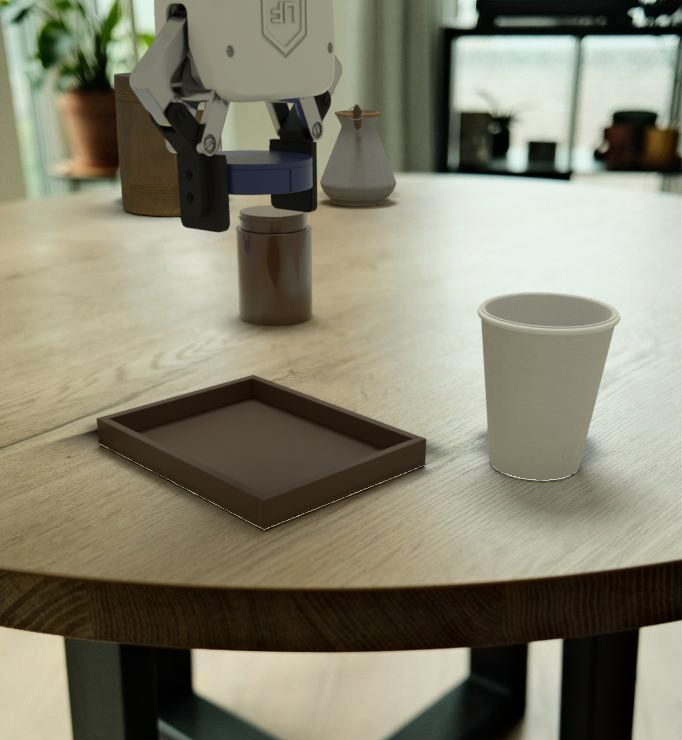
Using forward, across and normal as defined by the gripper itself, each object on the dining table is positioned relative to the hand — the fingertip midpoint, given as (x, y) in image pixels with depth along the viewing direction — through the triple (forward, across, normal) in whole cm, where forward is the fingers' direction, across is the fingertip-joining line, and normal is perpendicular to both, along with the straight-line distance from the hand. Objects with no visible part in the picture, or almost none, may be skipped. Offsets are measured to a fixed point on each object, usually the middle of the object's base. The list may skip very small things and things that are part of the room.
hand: (251, 216), depth 59 cm
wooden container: (+15, +63, +71) cm, 96 cm away
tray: (+15, 0, 0) cm, 15 cm away
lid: (-3, 0, 0) cm, 3 cm away
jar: (+15, +24, +18) cm, 33 cm away
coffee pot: (+15, +80, +50) cm, 95 cm away
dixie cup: (+15, +10, -15) cm, 23 cm away
